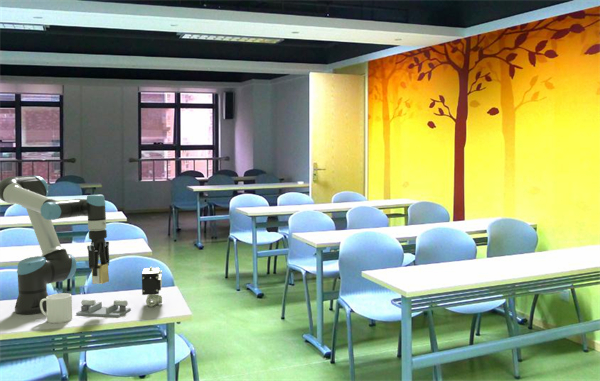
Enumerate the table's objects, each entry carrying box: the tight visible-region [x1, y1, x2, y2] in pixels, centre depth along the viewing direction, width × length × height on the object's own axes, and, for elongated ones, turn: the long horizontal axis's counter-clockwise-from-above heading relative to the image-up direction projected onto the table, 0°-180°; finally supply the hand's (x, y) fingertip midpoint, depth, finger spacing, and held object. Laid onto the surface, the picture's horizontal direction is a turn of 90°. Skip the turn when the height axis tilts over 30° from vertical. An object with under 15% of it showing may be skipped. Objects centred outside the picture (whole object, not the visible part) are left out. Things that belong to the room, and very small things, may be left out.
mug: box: [40, 292, 73, 324], centre depth 250 cm, size 13×10×10 cm
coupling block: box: [91, 263, 110, 285], centre depth 262 cm, size 5×5×8 cm
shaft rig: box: [75, 299, 131, 318], centre depth 261 cm, size 20×11×5 cm, turn 79°
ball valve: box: [141, 266, 163, 307], centre depth 273 cm, size 18×8×18 cm, turn 11°
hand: (100, 281), depth 262 cm, fingers closed on coupling block, 5 cm apart
